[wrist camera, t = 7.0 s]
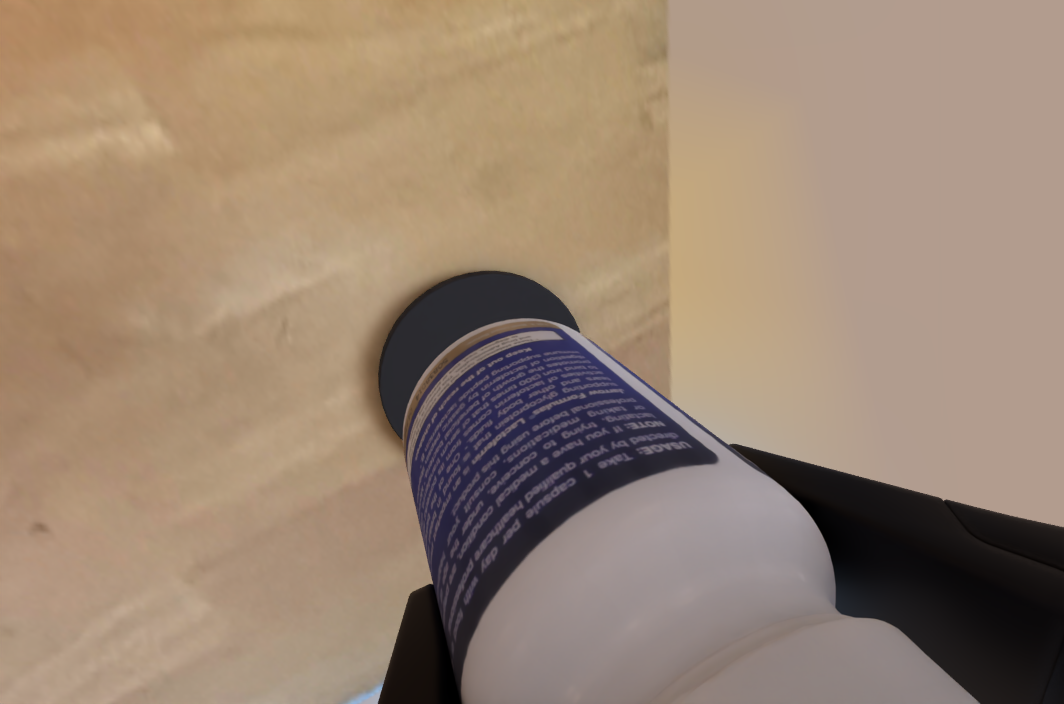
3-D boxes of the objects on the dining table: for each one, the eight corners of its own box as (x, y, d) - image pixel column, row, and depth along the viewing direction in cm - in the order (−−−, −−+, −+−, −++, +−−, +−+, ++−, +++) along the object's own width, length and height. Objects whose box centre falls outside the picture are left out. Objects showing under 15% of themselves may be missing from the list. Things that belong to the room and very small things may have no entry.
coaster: (555, 241, 21) (561, 244, 21) (595, 416, 25) (601, 422, 25) (342, 314, 19) (342, 319, 19) (421, 491, 23) (423, 499, 23)
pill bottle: (373, 500, 13) (448, 1249, 4) (436, 285, 11) (752, 717, 3) (568, 515, 15) (878, 1006, 6) (639, 339, 14) (1153, 661, 5)
